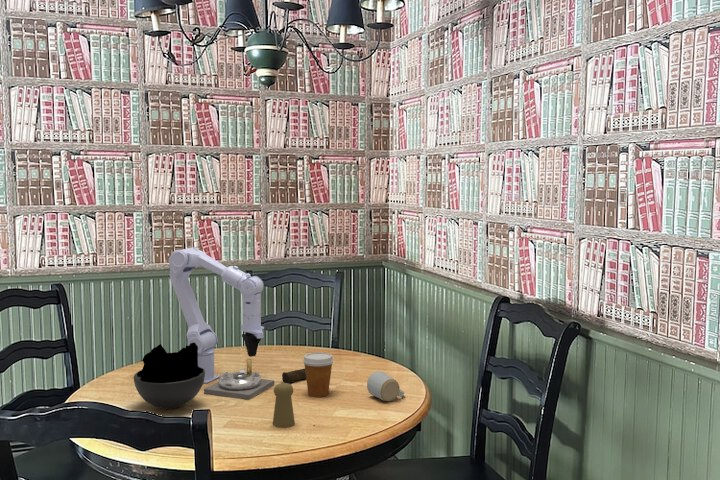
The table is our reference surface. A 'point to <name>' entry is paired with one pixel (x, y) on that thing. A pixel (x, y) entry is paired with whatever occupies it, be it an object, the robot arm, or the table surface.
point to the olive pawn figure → (283, 406)
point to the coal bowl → (170, 377)
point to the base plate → (240, 394)
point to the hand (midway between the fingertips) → (252, 355)
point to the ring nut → (240, 379)
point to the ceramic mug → (383, 386)
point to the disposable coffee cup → (318, 373)
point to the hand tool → (293, 376)
